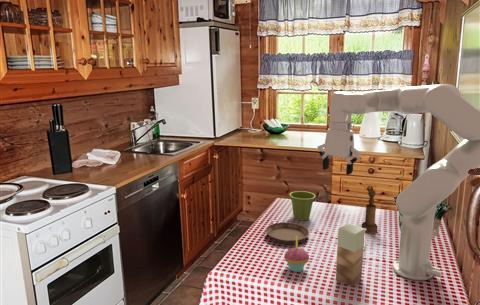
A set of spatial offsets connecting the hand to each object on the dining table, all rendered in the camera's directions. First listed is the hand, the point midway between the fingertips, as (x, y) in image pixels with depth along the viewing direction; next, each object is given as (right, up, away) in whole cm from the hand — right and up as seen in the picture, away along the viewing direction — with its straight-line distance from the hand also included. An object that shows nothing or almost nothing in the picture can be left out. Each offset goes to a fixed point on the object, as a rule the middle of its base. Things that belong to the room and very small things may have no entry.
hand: (337, 171), depth 145 cm
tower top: (0, -29, -18) cm, 34 cm away
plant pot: (-7, -24, +36) cm, 44 cm away
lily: (+8, -31, +5) cm, 32 cm away
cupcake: (-16, -34, -9) cm, 39 cm away
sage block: (0, -23, -19) cm, 30 cm away
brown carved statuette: (+20, -27, +22) cm, 40 cm away
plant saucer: (-17, -28, +16) cm, 37 cm away
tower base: (0, -35, -16) cm, 39 cm away
